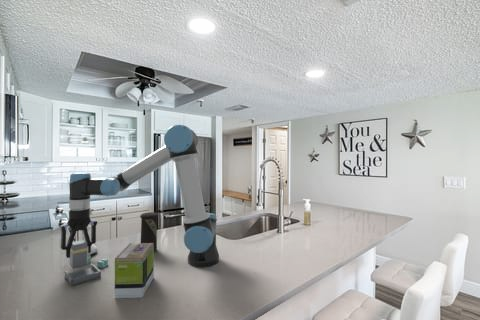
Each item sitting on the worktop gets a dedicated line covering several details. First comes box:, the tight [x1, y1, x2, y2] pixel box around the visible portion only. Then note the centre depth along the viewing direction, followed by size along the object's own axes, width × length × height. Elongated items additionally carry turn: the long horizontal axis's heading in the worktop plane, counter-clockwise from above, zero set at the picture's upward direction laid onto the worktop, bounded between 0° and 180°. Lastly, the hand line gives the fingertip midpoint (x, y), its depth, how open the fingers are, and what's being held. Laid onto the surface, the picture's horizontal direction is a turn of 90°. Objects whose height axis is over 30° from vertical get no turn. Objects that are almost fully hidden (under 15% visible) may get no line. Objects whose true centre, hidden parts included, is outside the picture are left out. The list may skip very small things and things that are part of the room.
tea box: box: [114, 242, 155, 299], centre depth 93 cm, size 15×10×15 cm, turn 5°
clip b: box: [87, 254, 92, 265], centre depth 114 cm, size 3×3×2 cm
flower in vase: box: [80, 207, 98, 256], centre depth 123 cm, size 13×11×25 cm
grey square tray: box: [64, 263, 102, 287], centre depth 100 cm, size 11×10×2 cm
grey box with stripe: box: [70, 239, 88, 270], centre depth 105 cm, size 5×5×10 cm
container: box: [139, 211, 159, 253], centre depth 130 cm, size 9×9×20 cm
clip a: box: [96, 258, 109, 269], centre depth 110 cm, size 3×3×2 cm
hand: (78, 262), depth 105 cm, fingers closed on grey box with stripe, 5 cm apart
